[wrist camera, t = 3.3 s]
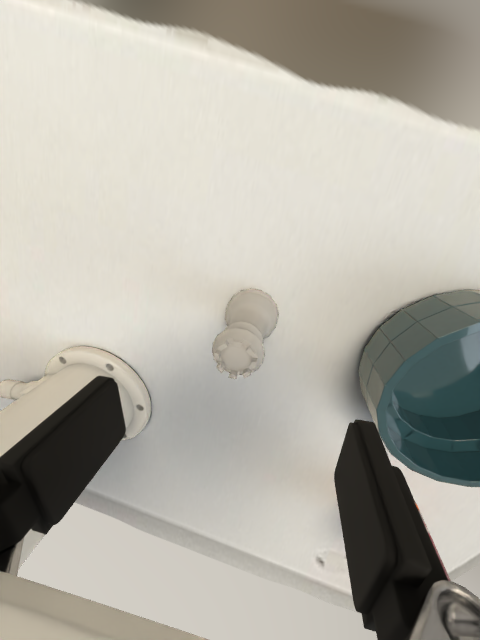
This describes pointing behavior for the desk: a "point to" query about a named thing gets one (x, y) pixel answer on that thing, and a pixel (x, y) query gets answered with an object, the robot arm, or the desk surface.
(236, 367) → the rook chess piece
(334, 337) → the desk surface
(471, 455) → the bowl
